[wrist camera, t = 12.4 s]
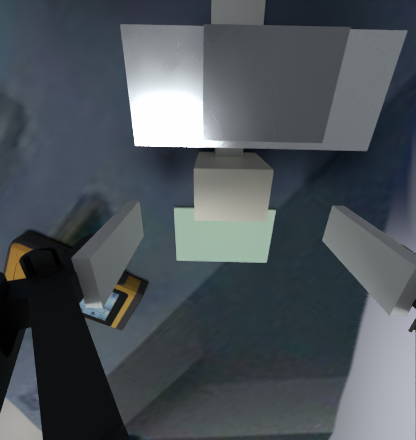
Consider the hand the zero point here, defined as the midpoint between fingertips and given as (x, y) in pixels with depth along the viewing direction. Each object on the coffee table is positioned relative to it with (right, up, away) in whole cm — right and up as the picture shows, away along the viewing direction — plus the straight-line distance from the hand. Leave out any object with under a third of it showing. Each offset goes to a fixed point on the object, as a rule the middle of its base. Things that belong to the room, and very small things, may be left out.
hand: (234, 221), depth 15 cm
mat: (0, -2, +10) cm, 10 cm away
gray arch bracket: (0, +10, +4) cm, 11 cm away
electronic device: (-18, -7, +14) cm, 24 cm away
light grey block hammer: (0, +10, +5) cm, 11 cm away
